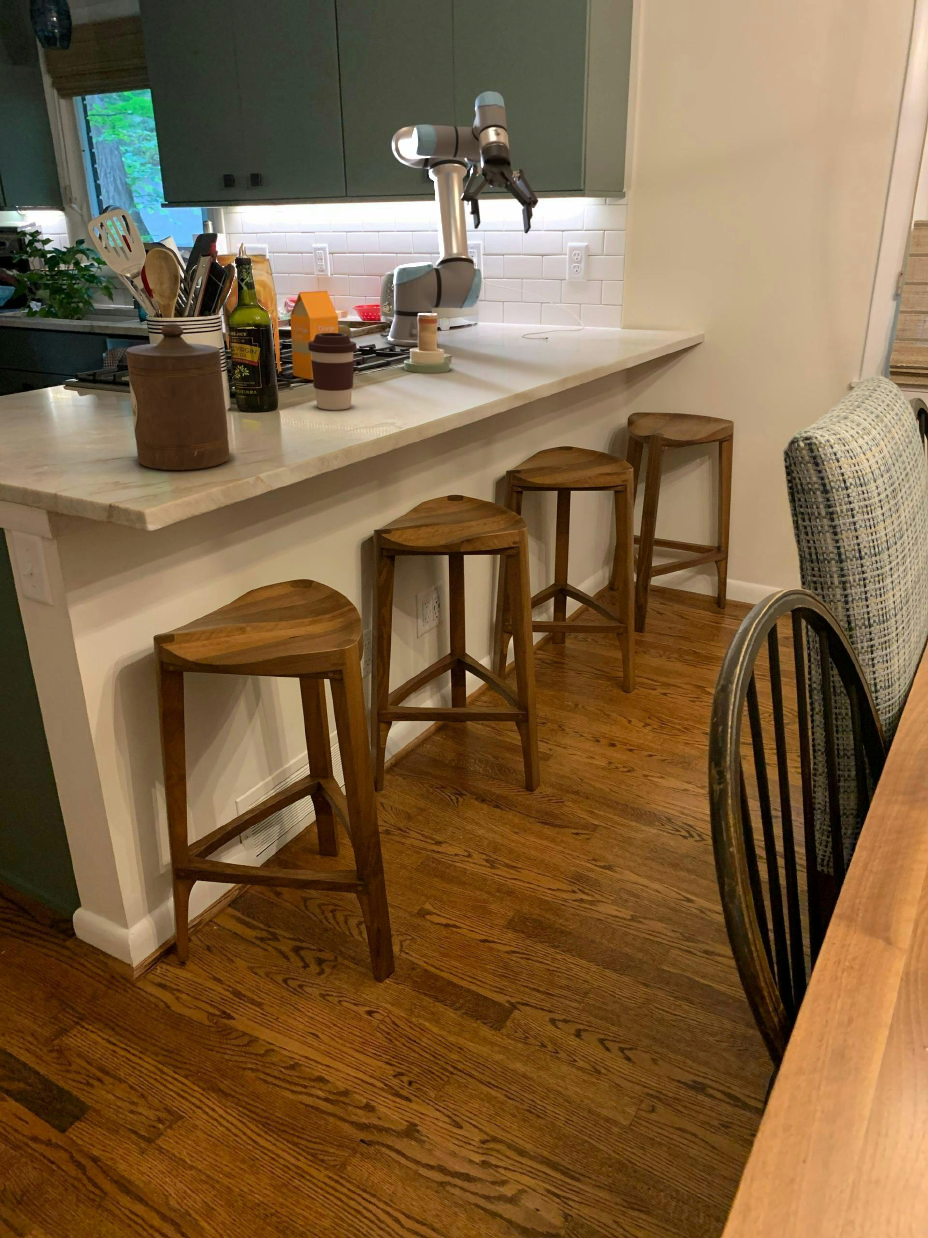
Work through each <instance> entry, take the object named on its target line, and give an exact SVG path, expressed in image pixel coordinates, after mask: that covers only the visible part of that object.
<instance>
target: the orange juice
mask: <svg viewBox="0 0 928 1238" xmlns="http://www.w3.org/2000/svg"><path fill="white" fill-rule="evenodd" d="M292 307H293V308H292V310H291V313H290V334H291V335H290V336H291V356H292V357H291V358H292V376H294V377H296V378H297V377H298V378H301V379H306V380H310V381H313V373H312V363H311V360H312V352H311V351H310V350H309V349H308V342H310V341H313V340H314V338H315V335H316V334H319V333H338V325H339V315H338V313H337V311H336V308H335V306H334V304H333V302H332V299H331V297H330V294H329V292H328V290H315V291H300V292H298V295H297V298H296V300H295V303H294V305H293V306H292Z"/></svg>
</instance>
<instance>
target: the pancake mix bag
mask: <svg viewBox="0 0 928 1238" xmlns="http://www.w3.org/2000/svg"><path fill="white" fill-rule="evenodd" d="M238 254H239V253H230V254H229V253H228V254H227V253H226V254H217V261H218V263H219V264H220V265H221V266H227V265H228V264H230V263H234V261H235V259H236V257H237V255H238ZM245 255H246V256H247V257H248V258H250V259H251V260H252V270H253V277H254V282H255V289H256V295H257V300H258V303H259V304H260V305H261V306H262V307H264V308H265V309H266V311H267V312H268V313H269V314H270V316H271V320H272V324H273V333H274V342H275V353H276V361H277V368H278V373H277V374H280V372H281V371H282V366H281V358H280V357H281V352H280V336H279V335H280V334H279V333H280V332H279V331H280V330H279V312H278V301H277V293H276V287H275V282H274V277H273V271H272V267H271V262H270V258H267V255H266V254H263V253H262V254H259V253H258V254H245ZM237 302H238V284H237V277H236V276H235V279H234V281H233V284H232V288H231V292H230V294H229V296H228V298H227V301H226V302H225V305H224V313H223V314H224V318H223V322H224V329H225V339H226V340H225V341H226V346H227V350H228V351H229V336H228V334H229V318H230V315H231V313H232V311H233V310H234V308H235V307H236V305H237Z"/></svg>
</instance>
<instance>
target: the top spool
mask: <svg viewBox="0 0 928 1238" xmlns="http://www.w3.org/2000/svg"><path fill="white" fill-rule="evenodd" d="M438 319H439V318H438V313H433V312H432V313H419V314H418V346H417V348H418V350H420V351H436V350H437V348H438V321H439V320H438Z"/></svg>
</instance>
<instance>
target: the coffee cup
mask: <svg viewBox="0 0 928 1238" xmlns="http://www.w3.org/2000/svg"><path fill="white" fill-rule="evenodd" d="M308 349H309V350H310V351H311V352H312V360H311V363H312V373H313V380H312V383H313V388H314V390H315V400H316V401H315V402H316V406H317V408H319V409H321V410H327V411H343V410H348V409H350V408H351V406H352V395H353V394H352V390H353V387H354V374H355V373H354V369H355V360H354V352H356V351H357V343H356V342H355V341H352V340H351V337H350V338H349V336H348V335H347V334H343V333H319V334H316V335H315V338H314V340H313V341H310V342H308Z"/></svg>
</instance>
